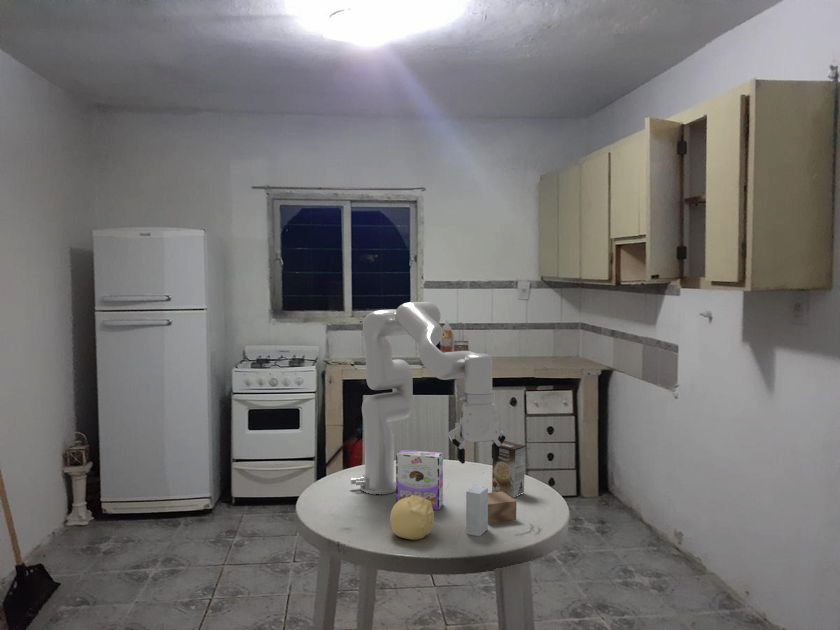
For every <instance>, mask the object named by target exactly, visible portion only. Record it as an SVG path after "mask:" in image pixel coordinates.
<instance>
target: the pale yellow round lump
mask: <svg viewBox="0 0 840 630" xmlns="http://www.w3.org/2000/svg"><path fill="white" fill-rule="evenodd" d="M434 514H435V512H434V509H433V508H432V503H431V501H430V500H427V499H425V498H424V497H419V496H415V495H411V496H410V497H406V498H403V499H401V500H399V501H398V502H397V503H395V504H393V507H392V509H391V512H390V516H389V524H390V528H391V530H392V532H393V534H395V536H398V537H399V538H402V539H407V540H413V541H417V540H421V539H423V538H425V537H426V536H427V535H429V533H430V532H431V531H432V528H433V526H434V522H433V521H434V520H435V515H434Z"/></svg>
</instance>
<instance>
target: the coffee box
mask: <svg viewBox="0 0 840 630" xmlns="http://www.w3.org/2000/svg"><path fill="white" fill-rule="evenodd" d="M525 464H526V445H523V444H519V443H516V442H512V441H511V442H510V441H507V440H504V441H503V442H502V443H501V446H499V457H498V461H495V460H494V459H492V468H491V471H492V473H491V474H492V475H491V478H492V479H491V493H492V492H501V491H503V492H504V493H506V494H507V495H508V496H510V497H511V498H512V497H515V498H517V497H518V496H517V495H519V494H521V493H523V492H524V493H525V471H526V465H525ZM516 496H517V497H516Z"/></svg>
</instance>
